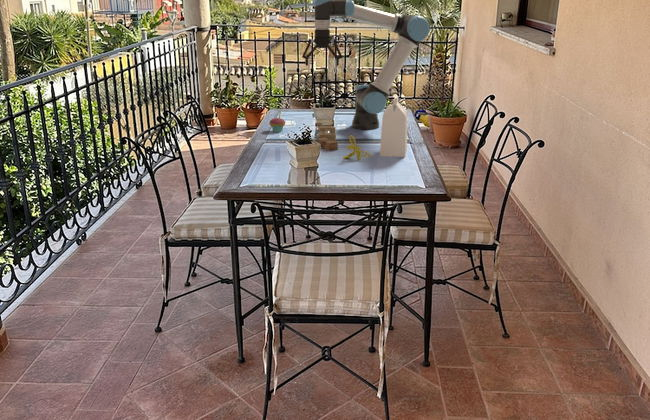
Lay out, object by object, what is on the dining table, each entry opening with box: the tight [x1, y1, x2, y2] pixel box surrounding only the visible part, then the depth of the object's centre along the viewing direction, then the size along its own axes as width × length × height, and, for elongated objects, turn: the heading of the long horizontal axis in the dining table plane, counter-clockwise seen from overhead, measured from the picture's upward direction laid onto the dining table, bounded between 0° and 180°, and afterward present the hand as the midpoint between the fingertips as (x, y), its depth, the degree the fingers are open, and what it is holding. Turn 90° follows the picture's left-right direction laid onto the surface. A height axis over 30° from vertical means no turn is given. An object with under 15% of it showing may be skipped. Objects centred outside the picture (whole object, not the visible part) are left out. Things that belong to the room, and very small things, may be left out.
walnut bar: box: [316, 137, 339, 152], centre depth 276 cm, size 11×4×4 cm, turn 34°
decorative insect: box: [342, 134, 371, 160], centre depth 258 cm, size 13×3×10 cm
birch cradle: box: [318, 126, 337, 142], centre depth 290 cm, size 16×8×5 cm, turn 179°
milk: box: [379, 95, 408, 158], centre depth 264 cm, size 12×12×26 cm
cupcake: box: [269, 109, 286, 133], centre depth 307 cm, size 9×8×12 cm
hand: (322, 72), depth 293 cm, fingers open, 13 cm apart
